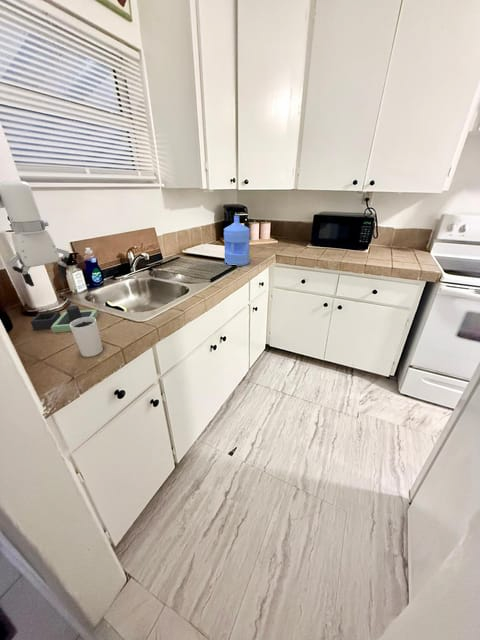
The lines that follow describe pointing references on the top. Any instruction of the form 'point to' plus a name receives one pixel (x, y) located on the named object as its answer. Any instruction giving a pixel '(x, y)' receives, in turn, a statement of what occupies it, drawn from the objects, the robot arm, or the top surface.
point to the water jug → (236, 243)
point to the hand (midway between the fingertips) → (48, 281)
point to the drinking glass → (87, 336)
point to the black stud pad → (73, 315)
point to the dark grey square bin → (44, 320)
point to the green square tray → (66, 327)
